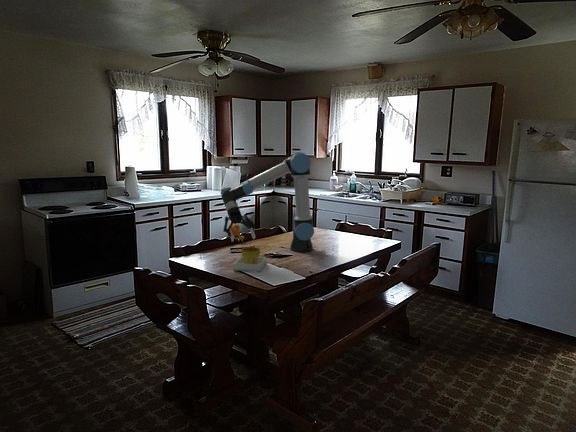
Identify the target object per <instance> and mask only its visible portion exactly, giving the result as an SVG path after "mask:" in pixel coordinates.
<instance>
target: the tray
mask: <svg viewBox="0 0 576 432" xmlns="http://www.w3.org/2000/svg"><path fill="white" fill-rule="evenodd" d="M266 266H267V257H262V256H258V261H257V265H256V264H245V263H244V259H243V256H242V255H240V256H239V257H238V258H237V259H236V260H235V261H234V262H233V263H232V269H233V271H235V272H238V271H239V272H250V271H257V272H256V273H261V272H262V271H263V270H264V269H265V267H266ZM262 269H263V270H262Z"/></svg>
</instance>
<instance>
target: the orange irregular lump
mask: <svg viewBox="0 0 576 432" xmlns="http://www.w3.org/2000/svg"><path fill="white" fill-rule="evenodd" d="M240 228H241V227H240V225H239V224H238V223H237V224H235V223H233V225H232V226H231V228H230V230H231V231H232V234H233V236H234V237H235V236H238V237H236V238H234V239H239V240H241V241H240V242H242V241H243V240H245V236H244V235H241V236H239V235H240V234H241V232H240ZM227 237H229V236H228V234H226V238H227Z"/></svg>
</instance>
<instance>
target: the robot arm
mask: <svg viewBox="0 0 576 432" xmlns="http://www.w3.org/2000/svg"><path fill="white" fill-rule="evenodd" d="M311 162H312V161H311V159H310V157H309V156H308V155H307V154H306V153H304V152H295V153H293V154H291V156H289V157H288V158H286V159H284V160H283V162H281V163H279V164H277V165H275V166H273V167H271V168H269V169H267V170H265V171H263V172H261V173H259V174H258V175H255V176H253V177H251V178H249V179H247V180H245V181H243V182H240V183H238V186H236V187H234V188H232V187H229V186H228V187H224V188H222V189H221V190H220V195H221V199H222V202H223V204H224V206H225V210H226V212H227V215H226V216H225V217H224V226H223V232H224V233H226V234H227V235H228V236H229V237H230V238H231V241H230V242H231V243H234V237H233V234H232V231H231V230H230V228H231V226H232V225H233V224H237V225H238V224H241V225H243V226H245V227H246V228H247V229H249V232H250V235H251V238H252V239H253V240H255V239H256V234H255V232H256V230H255V228H256V226H257V224H255V223H254V222H253V221H252V220H251V218H249V216H248V215H247V214H244V215H243V214H242V212H241V210H240V207H239V205H238V202H237V201H238V200H240V199H243V198H244V197H247V196H250V195H251V194H253V193H254V191H255V190H257V189H258V188H261V187H263V186H265V185H266V184H268V183H271V182H273V181H275V180H278V179H279V178H281V177H283V176H285V175H287V174H290V175H291V177H292V178H293V181H294V198H295V199H294V201H295V212H296V213H295V214H296V215H294V216H293V219H292V221H293V226H292V227H293V228H292V229H293V231H292V234H293V235H292V240H291V243H290V246H289V247H290V248H289V249H290V251H293V252H297V253H309V252H312V251H314V250H313V249H314V246H313V243H312V240H311V238H312V237H313V236H314V234H315V228H314V222H313V221H314V219H313V216H311V209H310V191H309V177H310V175H311ZM229 221H230V224H229V226H228V223H229ZM227 227H228V228H227Z"/></svg>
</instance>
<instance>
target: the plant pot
mask: <svg viewBox="0 0 576 432" xmlns="http://www.w3.org/2000/svg"><path fill="white" fill-rule="evenodd" d="M260 254H261V250H260V248H259V247H256V246H247V247H246V246H245V247H243V248H241V256H243V259H244V263H245V264H256V265H257V261H258V257H260Z"/></svg>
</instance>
